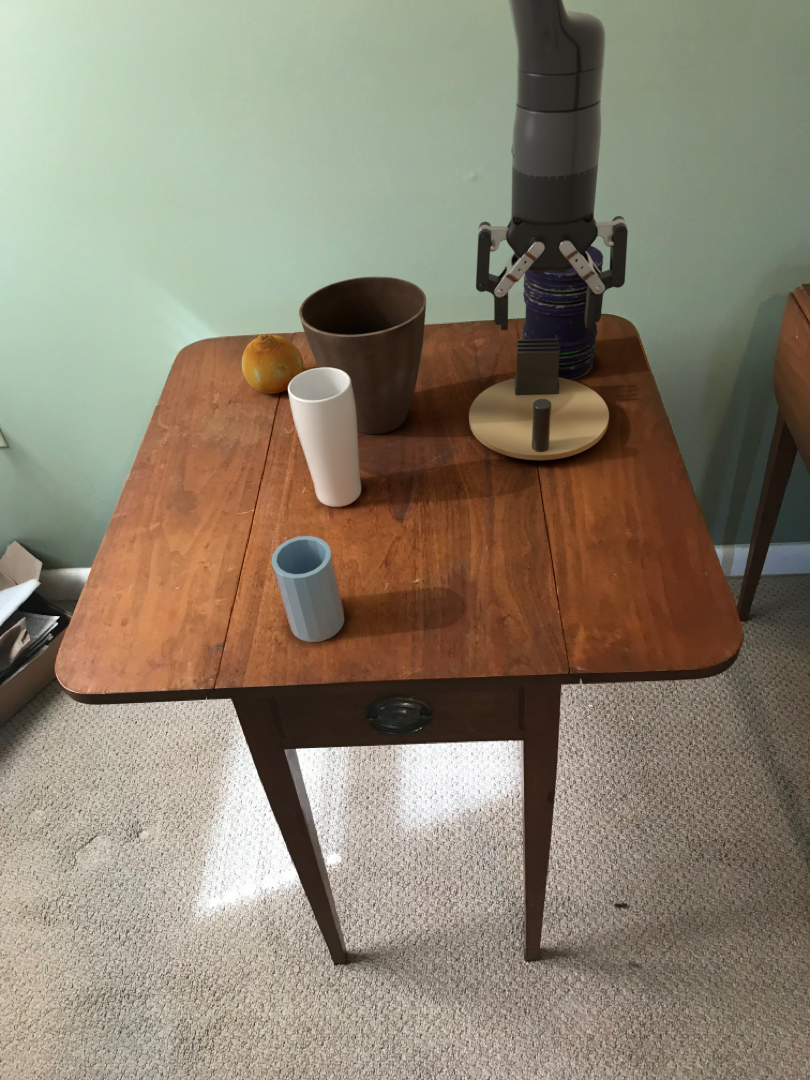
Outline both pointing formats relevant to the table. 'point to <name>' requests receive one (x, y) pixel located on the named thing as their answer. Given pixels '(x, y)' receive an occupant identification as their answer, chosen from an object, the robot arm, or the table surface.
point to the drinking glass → (328, 432)
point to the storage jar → (562, 315)
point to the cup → (309, 588)
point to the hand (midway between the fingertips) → (546, 325)
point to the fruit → (271, 363)
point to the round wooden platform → (538, 409)
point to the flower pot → (370, 343)
